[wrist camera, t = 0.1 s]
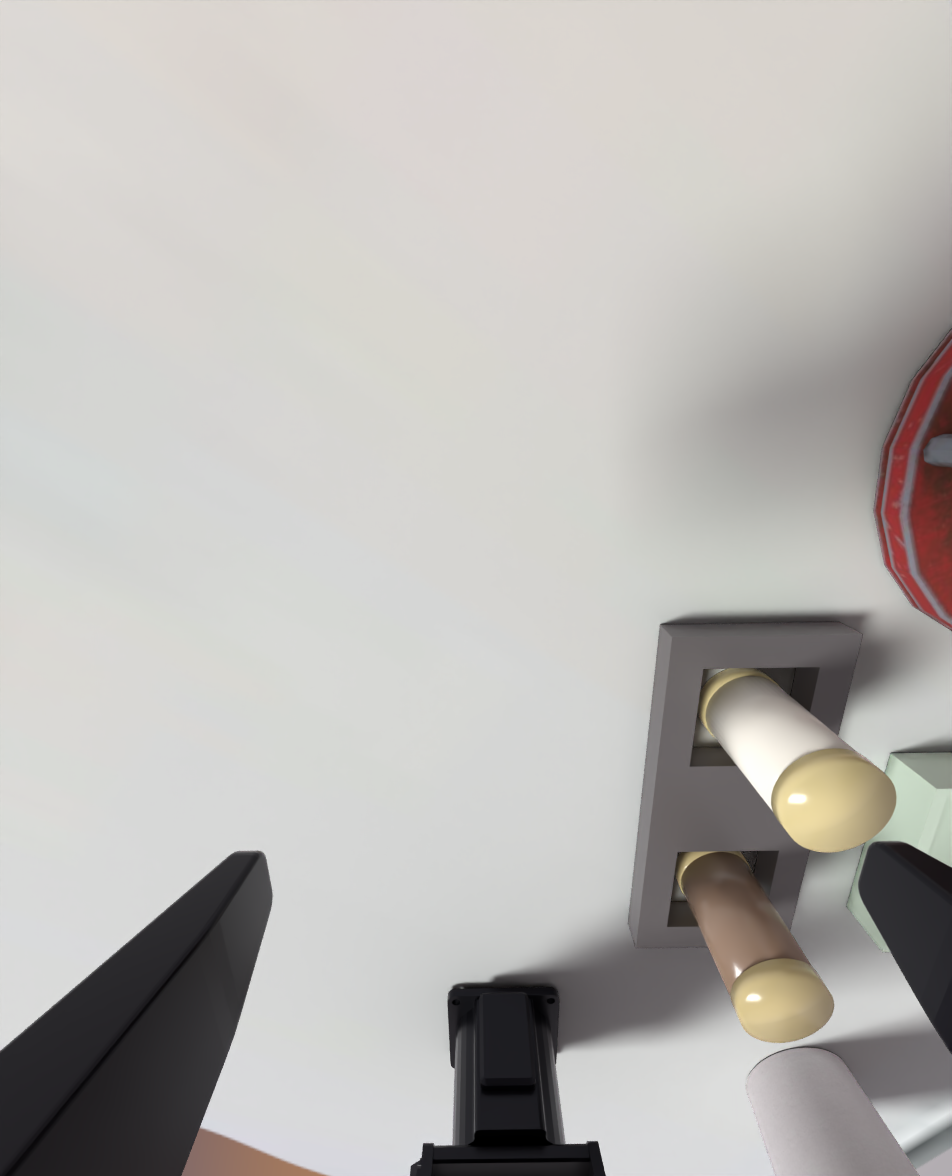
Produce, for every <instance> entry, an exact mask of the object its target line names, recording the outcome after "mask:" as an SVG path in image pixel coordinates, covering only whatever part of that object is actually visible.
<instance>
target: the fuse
mask: <svg viewBox="0 0 952 1176" xmlns="http://www.w3.org/2000/svg"><path fill="white" fill-rule="evenodd" d="M697 713H698V716H699V719H700V720H701V722H702V723H703V725H704V726H705V727H706V729H707V730H708V731H709V732H710V734H711V735H712V736H713V737H714V738H716V740H717V741H718V742H719V743H720V745H721V746H722V747H723V749H724V750H725V751H726V752H727V754H728V755H729V756H730V757H731V759H732V760H733V761H734V763H735V764H736V765H737V766H738V768H739V769H740V770H741V772H742V773H743V774H744V775H745V777H746V778H747V779H748V780H749V782H750V783H751V784H752V786H753V787H754V788H755V789H756V791H757V792H758V793H759V795H760V796H761V797H762V798H763V800H764V801H765V802H766V803H767V805H768V806H769V807H770V809H771V810H772V811H773V813H774V815H775V817H776V818H777V820H778V821H779V822H780V824H781V825H782V826H783V827H784V829H785V830H786V831H787V833H788V834H789V835H790V836H791V838H792V839H793V840H794V841H795V842H796V843H798V844H799V845H801V846H802V847H804V848H807V849H809V850H813V851H817V852H839V851H844V850H848V849H851V848H854V847H857V846H859V845H861V844H863V843H865V842H867V841H868V840H870V839H871V838H873V837H874V836H876V835H877V834H878V833H879V832H880V831H881V830H882V829H883V828H884V827H885V826H886V824H887V823H888V822H889V820H890V818H891V817H892V815H893V812H894V810H895V806H896V799H897V796H896V790H895V787H894V784H893V783H892V781H891V780H890V778H889V777H888V776H887V775H886V774H885V773H884V772H882V771H881V770H880V769H879V768H878V767H877V766H875V765H874V764H873V763H872V762H871V761H869V760H868V759H867V758H866V757H864V756H863V755H861V754H859V753H857V752H856V751H855V750H854V749H853V748H852V747H850V746H849V745H848V744H847V743H846V742H844V741H843V740H842V739H841V738H840V737H838V736H837V735H836V734H835V733H834V732H832V731H831V730H830V729H829V728H828V727H827V726H825V725H824V724H823V723H822V722H821V721H819V720H818V719H817V718H816V717H815V716H813V715H812V714H811V713H810V712H809V711H808V710H806V709H805V708H804V707H803V706H802V705H800V704H799V703H798V702H797V701H796V700H794V699H793V698H792V697H791V696H790V695H788V694H787V693H786V692H785V691H784V690H783V689H782V688H781V687H780V686H779V685H778V684H777V683H776V682H775V681H774V680H772V679H771V678H770V677H769V676H768V675H766V674H765V673H764V672H762V671H761V670H758V669H756V668H729V669H726V670H723V671H721V672H719V673H718V674H716V675H715V676H713V677H712V678H711V679H710V680H708V682H707V683H706V684H705V685H704V686H703V688H702V689H701V691H700V696H699V703H698V710H697Z"/></svg>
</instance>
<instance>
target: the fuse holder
mask: <svg viewBox="0 0 952 1176" xmlns="http://www.w3.org/2000/svg"><path fill="white" fill-rule="evenodd" d="M862 636H863V634H862V633H860V632H858V631H856V630H854V629H852V628H850V627H848V626H846V625H844V624H843V623H841V622H794V623H732V624H669V625H660V630H659V639H658V648H657V658H656V667H655V676H654V686H653V695H652V704H651V714H650V723H649V732H648V742H647V751H646V760H645V769H644V779H643V788H642V797H641V807H640V816H639V825H638V835H637V844H636V853H635V863H634V872H633V881H632V891H631V900H630V909H629V918H628V925H629V928H630V931H631V934H632V937H633V941H634V944H635V947H636V948H688V947H708V946H707V944H706V942H705V940H704V937H703V935H702V933H701V931H700V928H699V926H698V924H697V922H696V920H695V917H694V915H693V913H692V911H691V908H690V906H689V904H688V902H671V895H672V888H673V881H674V874H675V867H676V859H677V852H712V851H759V852H758V857H757V861H756V866H755V871H754V875H755V877H756V878H757V880H758V881H759V883H760V885H761V886H762V888H763V889H764V891H765V893H766V894H767V896H768V897H769V899H770V901H771V902H772V904H773V905H774V907H775V909H776V910H777V912H778V913H779V915H780V916H781V918H782V920H783V921H784V923H785V924H786V926H787V928H788V929H789V931H790V929H791V924H792V920H793V916H794V912H795V908H796V904H797V900H798V896H799V892H800V888H801V884H802V880H803V876H804V872H805V868H806V864H807V860H808V856H809V851H810V850H809V849H807V848H804V847H802V846H801V845H799V844H798V843H796V842H795V841H794V840H793V839H792V838H791V836H790V835H789V834H788V833H787V831H786V830H785V829H784V827H783V826H782V825H781V824H780V822H779V821H778V820H777V818H776V817H775V815H774V813H773V811H772V810H771V809H770V807H769V806H768V805H767V803H766V802H765V801H764V800H763V798H762V797H761V796H760V795H759V793H758V792H757V791H756V789H755V788H754V787H753V786H752V784H751V783H750V782H749V780H748V779H747V778H746V777H745V775H744V774H743V773H742V772H741V770H740V769H739V768H738V766H737V765H736V764H735V763H734V761H733V760H732V759H731V757H730V756H729V755H728V754H727V752H726V751H725V750H724V749H723V747H703V748H692V746H693V739H694V732H695V725H696V718H697V710H698V703H699V696H700V689H701V682H702V675H703V669H729V668H792V667H796V672H795V677H794V681H793V686H792V691H791V697H792V698H793V699H794V700H796V701H797V702H798V703H799V704H800V705H802V706H803V707H804V708H805V709H806V710H808V711H809V712H810V713H811V714H812V715H813V716H815V717H816V718H817V719H818V720H819V721H821V722H822V723H823V724H824V725H825V726H827V727H828V728H829V729H830V730H831V731H832V732H834V733H835V734H836V735H837V736H838V734H839V730H840V726H841V722H842V718H843V713H844V709H845V705H846V701H847V697H848V693H849V689H850V685H851V681H852V677H853V673H854V669H855V665H856V661H857V657H858V653H859V649H860V645H861V640H862Z"/></svg>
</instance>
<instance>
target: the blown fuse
mask: <svg viewBox="0 0 952 1176" xmlns="http://www.w3.org/2000/svg"><path fill="white" fill-rule="evenodd" d="M674 875H675V878H676V880H677V882H678V884H679V886H680V889H681V891H682V893H683V894H684V896H685V897H686V900H687V902H688V904H689V906H690V908H691V911H692V913H693V915H694V917H695V920H696V922H697V924H698V926H699V928H700V931H701V933H702V935H703V937H704V940H705V942H706V944H707V946H708V948H709V951H710V953H711V955H712V957H713V959H714V962H715V964H716V966H717V968H718V971H719V973H720V975H721V977H722V979H723V982H724V984H725V986H726V988H727V990H728V993H729V995H730V998H731V1002H732V1004H733V1007H734V1009H735V1011H736V1013H737V1016H738V1018H739V1020H740V1022H741V1025H742V1026H743V1028H744V1030H745V1031H746V1032H747V1033H748V1034H749V1035H751V1036H752V1037H754V1038H756V1039H759V1040H761V1041H765V1042H772V1043H785V1042H791V1041H796V1040H799V1039H802V1038H805V1037H807V1036H809V1035H811V1034H813V1033H815V1032H816V1031H818V1030H819V1029H821V1028H822V1027H823V1026H824V1025H825V1024H826V1023H827V1022H828V1020H829V1019H830V1017H831V1016H832V1013H833V1010H834V1000H833V997H832V995H831V994H830V992H829V990H828V989H827V987H826V986H825V984H824V982H823V981H822V979H821V978H820V976H819V975H818V973H817V972H816V970H815V969H814V968H813V967H812V966H811V964H810V963H809V961H808V959H807V958H806V956H805V955H804V953H803V951H802V950H801V948H800V947H799V945H798V944H797V942H796V940H795V939H794V937H793V936H792V934H791V932H790V931H789V929H788V928H787V926H786V924H785V923H784V921H783V920H782V918H781V916H780V915H779V913H778V912H777V910H776V909H775V907H774V905H773V904H772V902H771V901H770V899H769V897H768V896H767V894H766V893H765V891H764V889H763V888H762V886H761V885H760V883H759V881H758V880H757V878H756V877H755V875H754V874H753V872H752V870H751V868H750V866H749V864H748V862H747V861H746V859H745V857H744V856H743V854H742V853H741V851H712V852H681V853H680V854H679V856H678V857H677V859H676V867H675V874H674Z"/></svg>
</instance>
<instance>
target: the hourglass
mask: <svg viewBox="0 0 952 1176" xmlns="http://www.w3.org/2000/svg"><path fill="white" fill-rule="evenodd" d="M874 516H875V521H876V526H877V531H878V536H879V541H880V546H881V551H882V556H883V560H884V565H885V567H886V568H887V569H888V571H889V572H890V574H891V575H892V577H893V578H894V580H895V581H896V583H897V584H898V586H899V587H900V589H901V590H902V592H903V593H904V595H905V596H906V597H907V599H908V600H909V602H910V603H911V605H912V606H913V607H915V608H916V609H918V610H919V611H921V612H923V613H924V614H926V615H927V616H929V617H930V618H932V619H934V620H935V621H937V622H938V623H940V624H942V625H943V626H945V627H946V628H948V629H949V630H951V631H952V329H951V330H950V332H949V333H948V334H947V335H946V337H945V338H944V339H943V341H942V342H941V343H940V345H939V346H938V347H937V348H936V350H935V351H934V352H933V354H932V355H931V356H930V357H929V359H928V360H927V361H926V363H925V364H924V365H923V366H922V368H921V369H920V370H919V372H918V373H917V374H916V375H915V377H914V378H913V379H912V381H911V383H910V386H909V388H908V390H907V392H906V395H905V397H904V399H903V401H902V404H901V406H900V408H899V411H898V413H897V415H896V417H895V420H894V422H893V424H892V426H891V429H890V431H889V433H888V435H887V438H886V440H885V442H884V445H883V447H882V452H881V459H880V467H879V474H878V481H877V489H876V496H875V503H874Z"/></svg>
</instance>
